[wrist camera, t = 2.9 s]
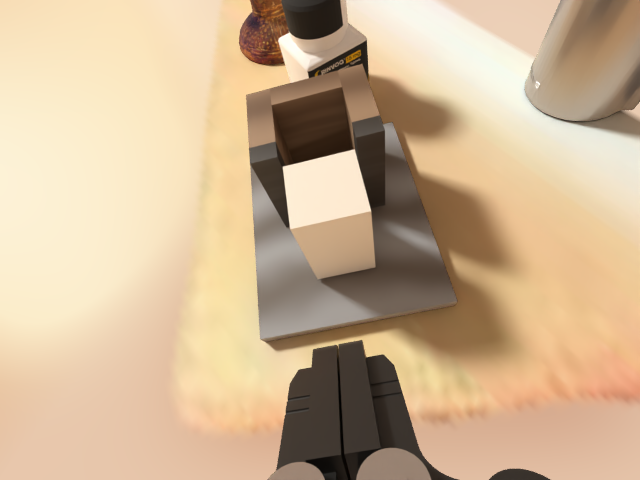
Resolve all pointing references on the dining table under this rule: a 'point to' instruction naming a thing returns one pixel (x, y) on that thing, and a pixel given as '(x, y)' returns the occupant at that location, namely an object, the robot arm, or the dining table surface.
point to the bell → (264, 32)
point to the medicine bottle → (320, 39)
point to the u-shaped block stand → (384, 199)
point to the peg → (330, 214)
